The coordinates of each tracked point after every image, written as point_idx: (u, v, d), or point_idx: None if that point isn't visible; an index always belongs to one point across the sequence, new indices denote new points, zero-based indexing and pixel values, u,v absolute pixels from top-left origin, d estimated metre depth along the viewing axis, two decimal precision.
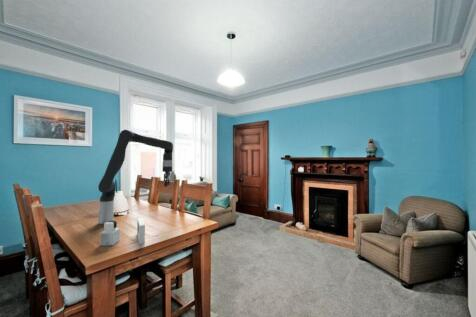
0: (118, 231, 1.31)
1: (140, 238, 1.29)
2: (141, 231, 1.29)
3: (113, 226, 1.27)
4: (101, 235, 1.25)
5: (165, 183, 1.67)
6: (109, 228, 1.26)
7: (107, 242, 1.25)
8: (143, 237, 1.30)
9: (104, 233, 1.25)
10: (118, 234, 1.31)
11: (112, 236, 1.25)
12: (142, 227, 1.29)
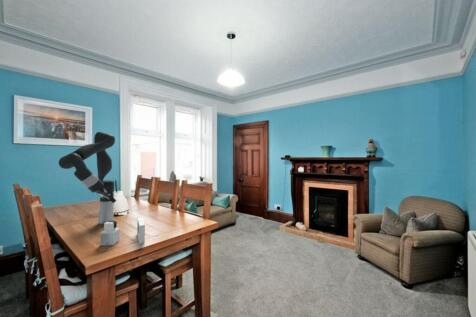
0: (118, 231, 1.31)
1: (140, 238, 1.29)
2: (141, 231, 1.29)
3: (113, 226, 1.27)
4: (101, 235, 1.25)
5: (105, 197, 1.34)
6: (109, 228, 1.26)
7: (107, 242, 1.25)
8: (143, 237, 1.30)
9: (104, 233, 1.25)
10: (118, 234, 1.31)
11: (112, 236, 1.25)
12: (142, 227, 1.29)
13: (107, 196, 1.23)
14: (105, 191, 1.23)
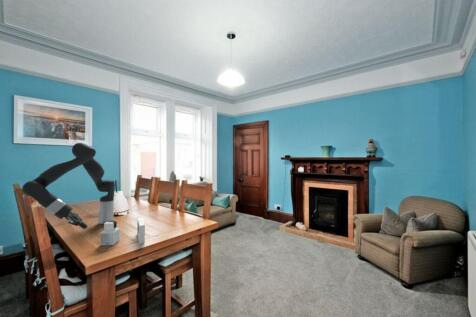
0: (118, 231, 1.31)
1: (140, 238, 1.29)
2: (141, 231, 1.29)
3: (113, 226, 1.27)
4: (101, 235, 1.25)
5: None
6: (109, 228, 1.26)
7: (107, 242, 1.25)
8: (143, 237, 1.30)
9: (104, 233, 1.25)
10: (118, 234, 1.31)
11: (112, 236, 1.25)
12: (142, 227, 1.29)
13: None
14: (71, 221, 1.15)
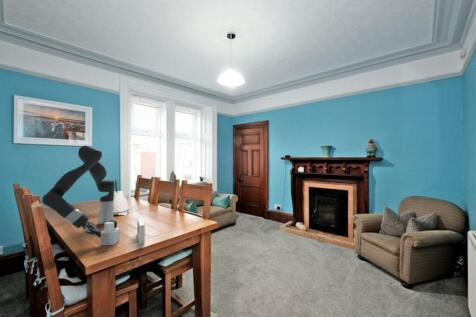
0: (118, 231, 1.31)
1: (140, 238, 1.29)
2: (141, 231, 1.29)
3: (113, 226, 1.27)
4: (101, 235, 1.25)
5: None
6: (109, 228, 1.26)
7: (107, 242, 1.25)
8: (143, 237, 1.30)
9: (104, 233, 1.25)
10: (118, 234, 1.31)
11: (112, 236, 1.25)
12: (142, 227, 1.29)
13: None
14: (89, 231, 1.19)
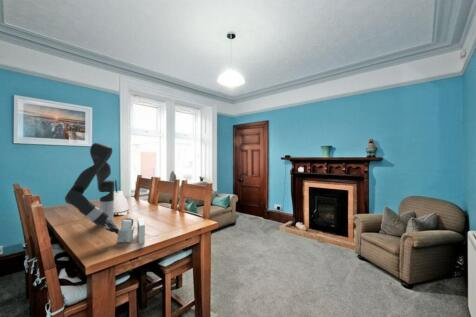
0: (133, 229, 1.36)
1: (140, 238, 1.29)
2: (141, 231, 1.29)
3: (131, 223, 1.32)
4: (119, 232, 1.28)
5: None
6: (128, 225, 1.30)
7: (124, 239, 1.29)
8: (143, 237, 1.30)
9: (122, 230, 1.29)
10: None
11: (130, 233, 1.30)
12: (142, 227, 1.29)
13: None
14: (109, 228, 1.24)
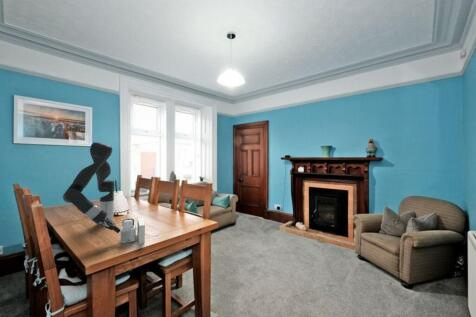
0: (135, 228, 1.37)
1: (140, 238, 1.29)
2: (141, 231, 1.29)
3: (132, 223, 1.33)
4: (121, 233, 1.29)
5: None
6: (129, 225, 1.31)
7: (128, 239, 1.30)
8: (143, 237, 1.30)
9: (125, 231, 1.29)
10: (135, 231, 1.37)
11: (133, 233, 1.31)
12: (142, 227, 1.29)
13: None
14: (108, 226, 1.23)
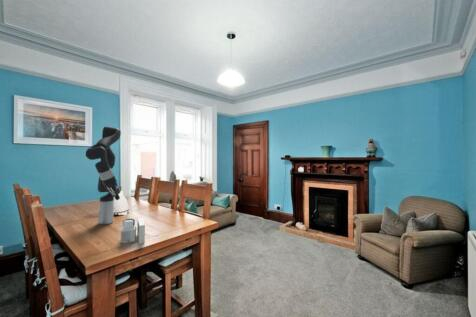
0: (135, 228, 1.37)
1: (140, 238, 1.29)
2: (141, 231, 1.29)
3: (133, 223, 1.33)
4: (122, 233, 1.29)
5: None
6: (130, 226, 1.31)
7: (128, 240, 1.30)
8: (143, 237, 1.30)
9: (125, 231, 1.29)
10: (135, 231, 1.37)
11: (133, 233, 1.31)
12: (142, 227, 1.29)
13: (117, 193, 1.37)
14: (119, 189, 1.36)
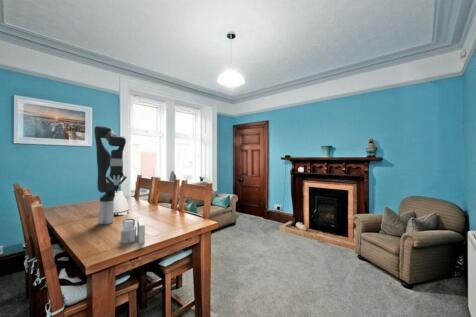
0: (135, 228, 1.37)
1: (140, 238, 1.29)
2: (141, 231, 1.29)
3: (133, 223, 1.33)
4: (122, 233, 1.29)
5: (114, 186, 1.45)
6: (130, 226, 1.31)
7: (128, 240, 1.30)
8: (143, 237, 1.30)
9: (125, 231, 1.30)
10: (135, 231, 1.37)
11: (133, 233, 1.31)
12: (142, 227, 1.29)
13: (122, 181, 1.47)
14: (125, 178, 1.48)
